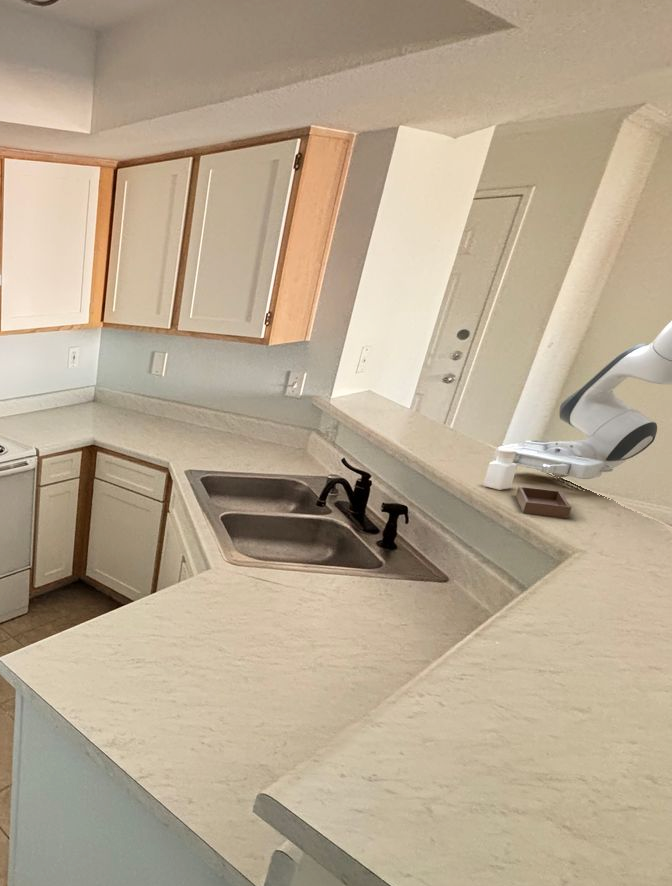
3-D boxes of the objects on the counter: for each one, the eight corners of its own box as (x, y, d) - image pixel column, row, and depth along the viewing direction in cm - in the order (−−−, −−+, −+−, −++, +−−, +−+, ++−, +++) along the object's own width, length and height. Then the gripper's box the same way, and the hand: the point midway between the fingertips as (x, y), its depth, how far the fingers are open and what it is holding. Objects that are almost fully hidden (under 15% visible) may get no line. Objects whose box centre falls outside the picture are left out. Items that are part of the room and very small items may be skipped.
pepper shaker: (499, 490, 141) (510, 452, 138) (481, 486, 145) (492, 448, 142) (511, 488, 142) (522, 450, 139) (493, 484, 146) (503, 447, 143)
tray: (515, 496, 137) (518, 486, 136) (557, 501, 133) (560, 491, 132) (522, 512, 127) (526, 501, 127) (568, 518, 123) (571, 507, 123)
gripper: (613, 482, 138) (570, 488, 135) (515, 461, 156) (475, 466, 153) (622, 456, 136) (578, 461, 133) (522, 438, 154) (481, 443, 151)
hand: (522, 464), depth 143 cm, fingers open, 8 cm apart
